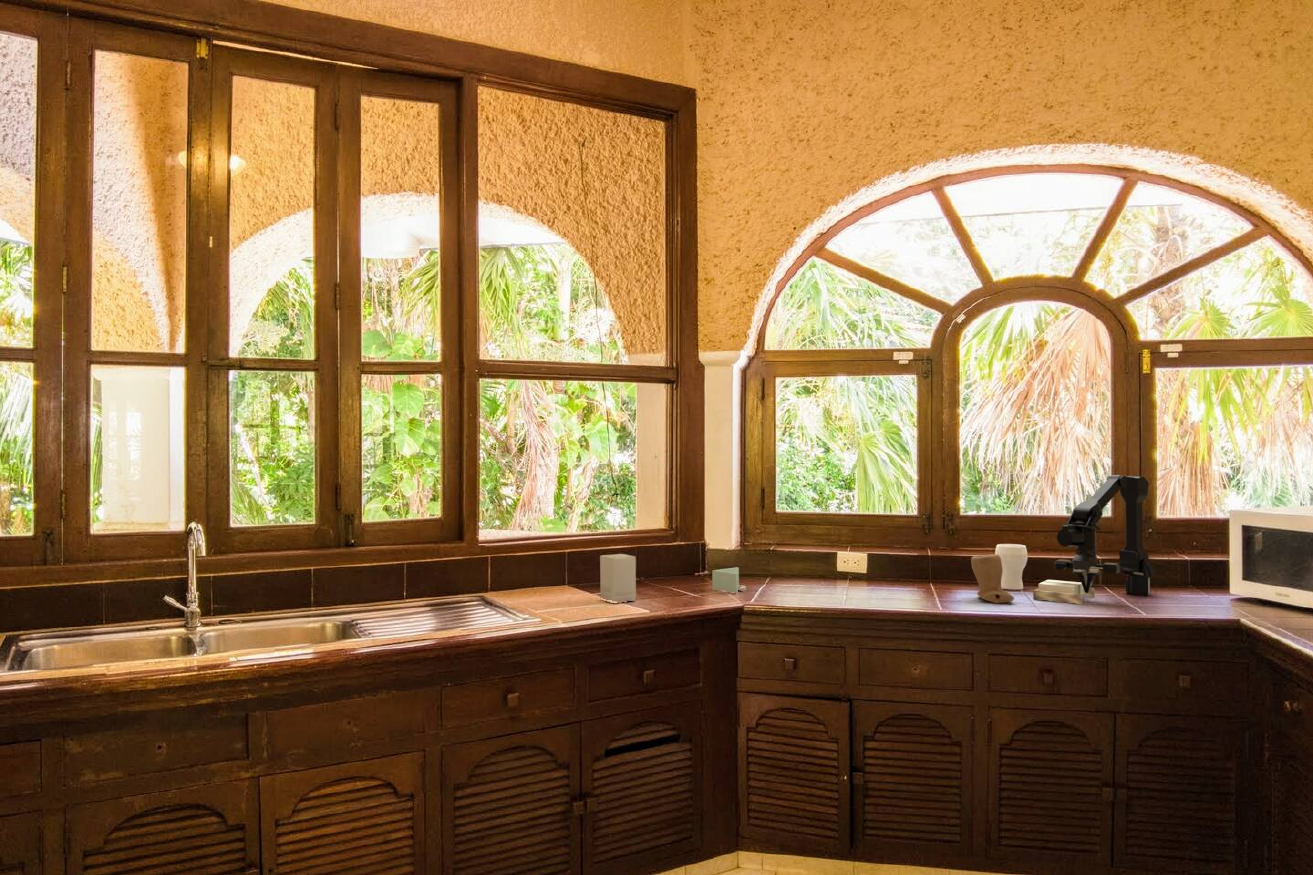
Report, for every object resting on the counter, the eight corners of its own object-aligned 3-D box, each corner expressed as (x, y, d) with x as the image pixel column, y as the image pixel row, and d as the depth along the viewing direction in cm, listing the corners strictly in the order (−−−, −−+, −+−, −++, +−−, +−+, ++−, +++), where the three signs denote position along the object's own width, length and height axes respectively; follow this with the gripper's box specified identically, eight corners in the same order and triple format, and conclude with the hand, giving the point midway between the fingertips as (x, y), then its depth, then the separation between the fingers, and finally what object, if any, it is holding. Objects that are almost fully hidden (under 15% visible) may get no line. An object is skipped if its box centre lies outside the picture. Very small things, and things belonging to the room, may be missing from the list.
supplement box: (636, 601, 292) (636, 556, 292) (612, 604, 287) (612, 558, 287) (623, 597, 300) (623, 553, 300) (599, 600, 295) (599, 555, 295)
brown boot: (969, 595, 300) (968, 550, 300) (1006, 596, 298) (1006, 551, 298) (975, 603, 285) (975, 556, 285) (1014, 604, 283) (1014, 557, 283)
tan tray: (1094, 597, 295) (1094, 588, 295) (1082, 604, 282) (1082, 594, 282) (1047, 592, 305) (1047, 583, 305) (1033, 599, 292) (1033, 590, 292)
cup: (990, 585, 319) (989, 543, 319) (1018, 585, 320) (1018, 543, 320) (1004, 590, 309) (1003, 547, 309) (1033, 590, 310) (1033, 546, 310)
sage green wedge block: (736, 596, 305) (736, 574, 305) (712, 591, 314) (712, 570, 314) (761, 592, 312) (760, 570, 313) (736, 588, 322) (736, 567, 322)
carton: (1083, 597, 295) (1083, 582, 295) (1075, 602, 286) (1074, 586, 286) (1047, 594, 302) (1047, 579, 302) (1038, 599, 293) (1038, 583, 293)
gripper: (1049, 545, 289) (1049, 593, 289) (1112, 549, 277) (1113, 599, 277) (1058, 542, 298) (1058, 588, 297) (1120, 545, 286) (1120, 594, 286)
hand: (1086, 592), depth 289 cm, fingers closed
